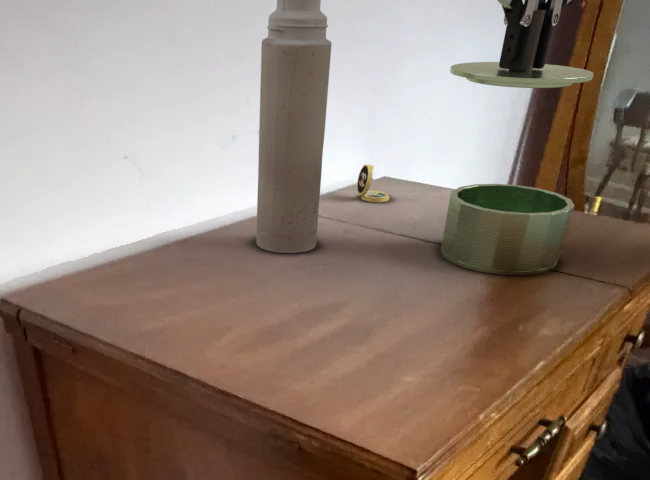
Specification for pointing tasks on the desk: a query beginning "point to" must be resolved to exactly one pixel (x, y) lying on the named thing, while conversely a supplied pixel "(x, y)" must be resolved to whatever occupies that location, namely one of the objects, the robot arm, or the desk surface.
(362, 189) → the eyeshadow
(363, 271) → the desk surface
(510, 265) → the tin
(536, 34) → the lid
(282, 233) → the thermos bottle
